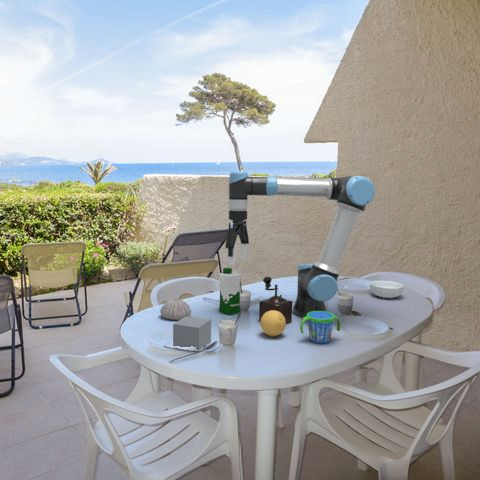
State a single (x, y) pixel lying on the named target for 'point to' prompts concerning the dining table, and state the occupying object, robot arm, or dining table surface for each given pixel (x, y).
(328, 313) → the snack cup
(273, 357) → the dining table surface
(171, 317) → the sea urchin shell
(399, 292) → the cereal bowl
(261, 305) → the coffee grinder
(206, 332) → the grey cube
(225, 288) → the milk carton
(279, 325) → the stress ball
